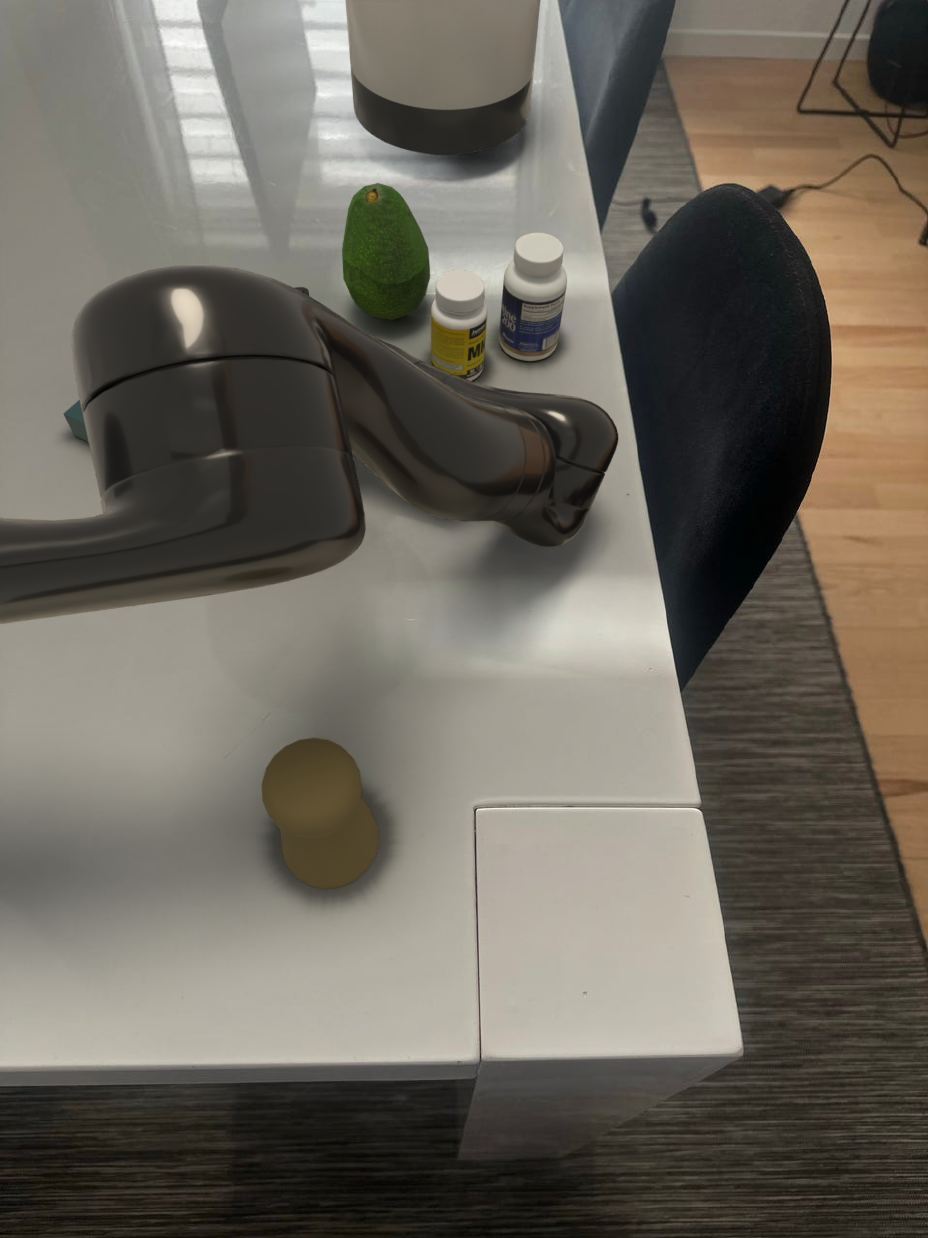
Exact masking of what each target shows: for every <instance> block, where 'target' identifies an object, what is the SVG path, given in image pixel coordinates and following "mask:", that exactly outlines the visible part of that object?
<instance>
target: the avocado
mask: <svg viewBox="0 0 928 1238" xmlns="http://www.w3.org/2000/svg"><path fill="white" fill-rule="evenodd" d="M343 234H344V235H343V240H342V246H341V256H342V278H343V282H344V283H345V286H346V288H347V291H348V293H349V294H350V297H351V298H352V301H353V302H354V304H355V305H356V306H357V307H358V308H359V310H361V311H362V312H363V313H365V314H367V315H369V316H372V317H374V318H377V319H383V320H389V321H390V320H391V321H393V320H398V319H400V318H404V317H407V316H408V315H409V314H411V313H413V311H416V309H418V308H419V306H420V305H421V303H422V301H423V300H424V298H425V297H426V294H427V291H428V287H429V283H430V280H431V264H430V263H431V262H430V253H429V252H430V251H429V246H428V244H427V242H426V239H425V237H424V234H423V232H422V229H421V228H420V225H419V224H418V222H417V219H416V218H415V216H414V214H413V212H412V211H411V208H410V206H409V204H408V203H407V201H406V200H405V199H404V197H403V196H402V194H401V193H400V192H399V191H397V190H396V189H395V187H393V186H390V185H386V184H383V183H379V182H377V183H372V184H368V185H364V186H363V187H361V188H360V189H359V190H358V191H357V192H355V194H353V196H352V198H351V200H350V203H349V206H348V208H347V215H346V221H345V226H344V233H343Z"/></svg>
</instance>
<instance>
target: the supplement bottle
mask: <svg viewBox="0 0 928 1238" xmlns="http://www.w3.org/2000/svg"><path fill="white" fill-rule="evenodd" d="M485 288H486V287H485V282H484V280H483V278H482V277H481V276H480V275H478V274H477V273H475V272H472V271H468V270H463V269H455V270H449V271H446V272H445V273H442V274H441V275H440V276H439V277H438V279H437V280H436V282H435V295H434V297H435V298H434V300H433V302H432V304H431V307H430V365H433V366H435V367H437V368H440V369H442V370H445V371H447V372H450V373H452V374H454V375H457V376H459V377H462V378H465V379H467V380H470V381H473V380H475V379H477V378H478V377H479V376H480V375H481V374H482V372H483V370H484V365H485V354H486V353H485V352H486V341H487V340H486V339H487V326H488V325H487V323H488V305H487V303H486V301H485V300H486V299H485V298H486V295H485V293H486V292H485V290H486V289H485Z"/></svg>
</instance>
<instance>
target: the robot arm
mask: <svg viewBox="0 0 928 1238" xmlns="http://www.w3.org/2000/svg"><path fill="white" fill-rule="evenodd" d="M70 344H71V354H72V364H73V365H72V366H73V371H74V379H75V383H76V389H77V394H78V400H80V404H81V409H82V414H83V418H84V422H85V427H86V432H87V436H88V441H89V443H88V445H89V451H90V455H91V459H92V465H93V469H94V475H95V478H96V483H97V489H98V492H99V496H100V499H101V500H100V504H101V510H102V513H100V514H98V515H94V516H87V517H81V518H65V519H53V520H52V519H32V518H11V517H0V625H6V624H13V623H19V622H26V621H34V620H40V619H41V620H42V619H48V618H49V619H50V618H56V617H62V616H71V615H77V614H84V613H91V612H100V611H107V610H114V609H120V608H127V607H128V608H129V607H136V606H142V605H143V606H144V605H150V604H157V603H165V602H172V601H177V600H178V601H179V600H180V601H181V600H187V599H193V598H201V597H207V596H213V595H220V594H227V593H233V592H239V591H245V590H251V589H252V590H253V589H258V588H263V587H267V586H272V585H276V584H283V583H286V582H290V581H293V580H297V579H300V578H301V579H302V578H304V577H307V576H311V575H314V574H317V573H320V572H323V571H326V570H328V569H330V568H332V567H334V566H337V565H339V564H340V563H342V562H344V561H345V560H346V559H348V558H349V557H351V556H352V555H353V554H354V553H355V552H356V551H357V550H358V549H359V548H360V546H362V543H363V541H364V538H365V536H366V535H365V534H366V529H367V524H366V512H365V509H364V503H363V497H362V491H361V487H360V482H359V477H358V471H357V467H356V466H357V465H356V462H355V459H354V456H355V457H356V458H357V459H358V460H359V461H360V462H361V463H362V464H364V465H365V466H366V467H367V468H368V469H369V470H370V471H371V472H372V473H373V474H374V475H375V476H376V477H377V478H378V479H379V480H380V481H382V483H383V484H385V485H386V486H387V487H388V488H389V489H390V490H391V491H392V492H394V493H395V494H397V496H399V497H400V498H401V499H402V500H404V501H405V502H407V503H408V504H409V505H411V506H413V507H415V508H416V509H419V510H420V511H422V512H424V513H426V514H428V515H431V516H432V517H437V518H440V519H443V520H447V521H453V522H494V523H495V524H497V526H499V527H500V528H502V529H503V530H505V532H507V533H509V534H510V535H512V536H513V537H516V538H517V539H519V540H520V541H522V542H525V543H527V544H530V545H533V546H537V547H541V548H557V547H561V546H563V545H565V544H567V543H569V542H570V541H572V540H573V539H574V538H575V537H576V536H577V535H578V534H579V532H580V531H581V529H582V528H583V526H584V524H585V522H586V520H587V518H588V515H589V513H590V510H591V509H592V506H593V504H594V501H595V499H596V497H597V494H598V492H599V490H600V487H601V485H602V484H603V481H604V479H605V476H606V472H607V471H608V470H609V468H610V465H611V462H612V460H613V458H614V456H615V454H616V451H617V447H618V444H619V431H618V428H617V425H616V424H615V422H614V420H613V418H612V417H611V416H610V414H609V413H608V412H607V411H606V410H605V409H604V408H602V407H601V406H600V405H598V404H597V403H595V402H593V401H591V400H589V399H585V398H582V397H579V396H572V395H565V394H557V393H556V394H555V393H542V392H528V391H527V392H526V391H519V390H518V391H517V390H513V389H512V390H510V389H505V388H499V387H495V386H489V385H486V384H483V383H479V382H476V381H473V380H472V381H470V380H467V379H465V378H462V377H459V376H457V375H454V374H452V373H450V372H447V371H445V370H442V369H440V368H437V367H435V366H433V365H431V363H427V362H425V361H423V360H421V359H419V358H417V357H416V356H414V355H412V354H410V353H409V352H407V351H406V350H404V349H402V348H400V347H398V346H397V345H394V344H391V343H389V342H387V341H384V340H381V339H379V338H376V337H375V336H372V335H371V334H369V333H367V332H366V331H364V330H363V329H361V328H359V327H358V326H356V325H355V324H353V323H351V322H350V321H349V320H347V319H346V318H344V317H342V316H341V315H340V314H338V313H337V312H335V311H334V310H332V309H331V308H329V307H328V306H326V305H324V304H323V303H321V302H320V301H318V300H316V299H315V298H313V297H312V296H310V291H309V289H308V288H307V287H305V286H295V287H293V286H291V285H288V284H286V283H285V282H282V281H279V280H278V279H275V278H273V277H269V276H266V275H264V274H263V275H262V274H260V273H255V272H253V271H249V270H245V269H241V268H237V267H230V266H222V265H216V264H177V265H172V266H165V267H158V268H152V269H148V270H145V271H141V272H139V273H135V274H132V275H129V276H126V277H124V278H122V279H120V280H117V281H116V282H113V283H111V284H109V285H107V286H106V287H104V288H103V289H101V290H99V291H98V292H96V293H95V294H93V295H92V296H91V297H90V298H89V299H88V300H87V301H86V303H84V305H83V307H82V308H81V309H80V311H79V312H78V313H77V314H76V316H75V318H74V323H73V327H72V332H71V343H70Z"/></svg>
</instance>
